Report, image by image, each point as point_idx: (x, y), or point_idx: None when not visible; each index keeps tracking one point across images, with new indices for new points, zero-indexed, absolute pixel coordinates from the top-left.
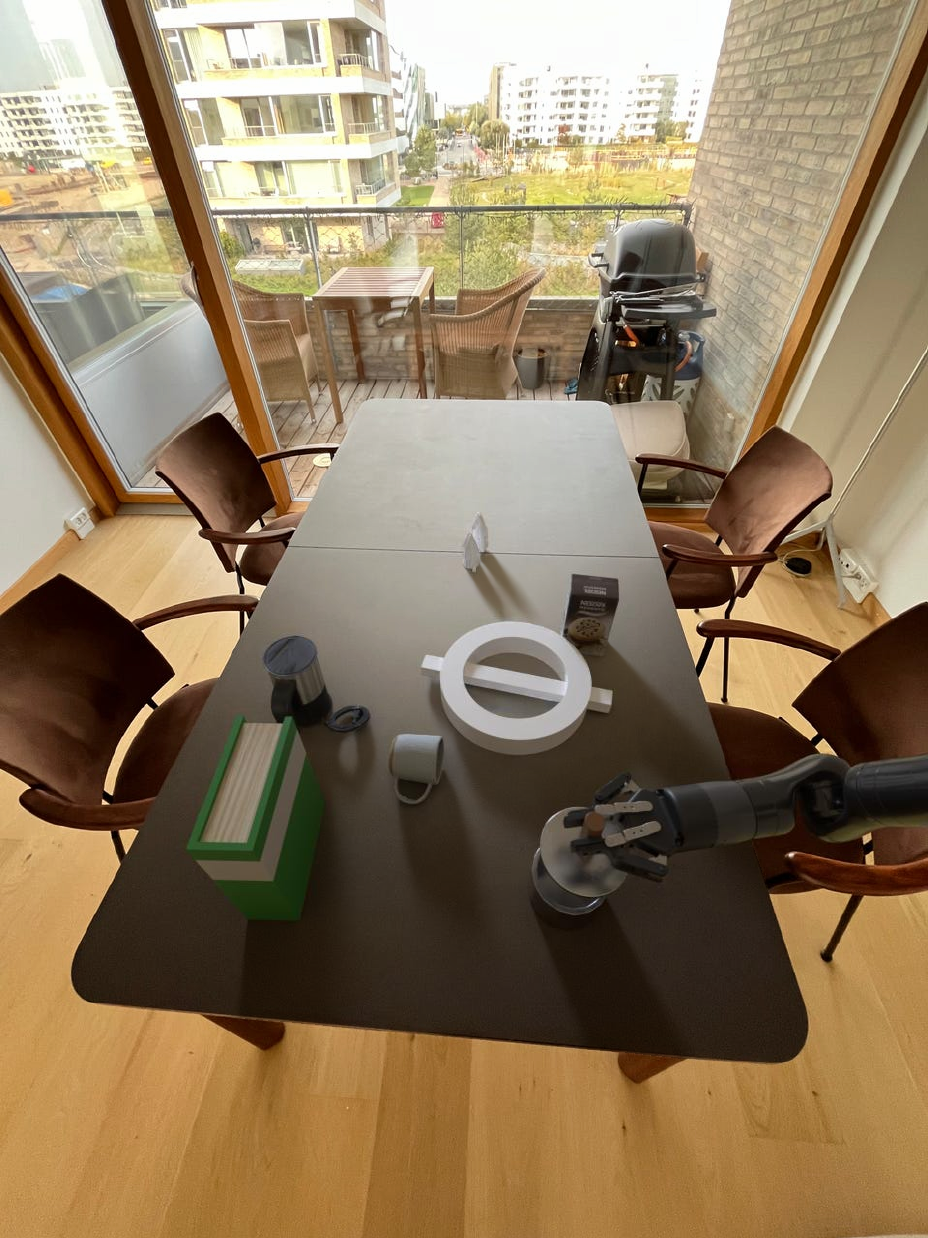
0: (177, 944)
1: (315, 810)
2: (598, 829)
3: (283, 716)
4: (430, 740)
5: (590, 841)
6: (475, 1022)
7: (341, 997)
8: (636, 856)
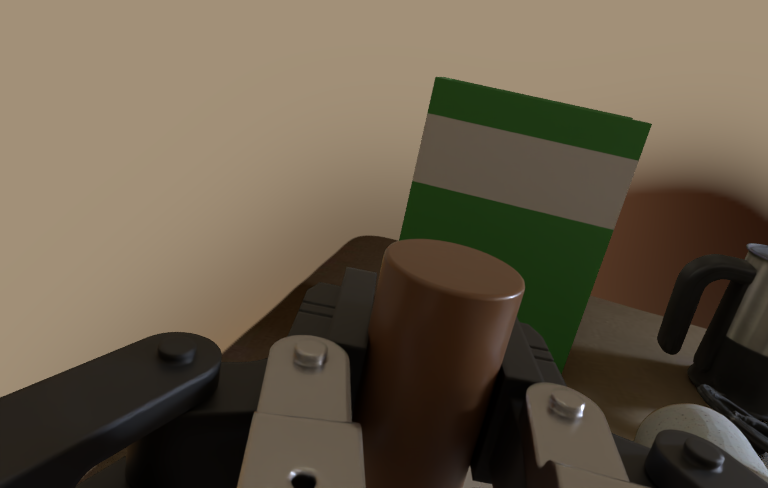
0: (380, 266)
1: (536, 329)
2: (397, 256)
3: (681, 281)
4: (755, 461)
5: (348, 303)
6: (106, 464)
7: (264, 338)
8: (79, 432)
